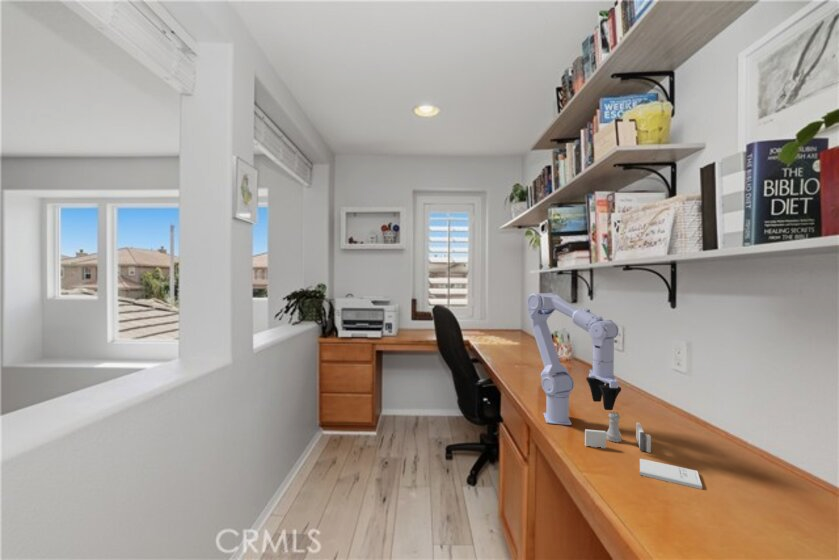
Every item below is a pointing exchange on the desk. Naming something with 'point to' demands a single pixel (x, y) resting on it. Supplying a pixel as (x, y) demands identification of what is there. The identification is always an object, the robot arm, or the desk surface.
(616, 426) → the rook chess piece
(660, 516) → the desk surface
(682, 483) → the external hard drive
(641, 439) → the door
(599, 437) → the wall
